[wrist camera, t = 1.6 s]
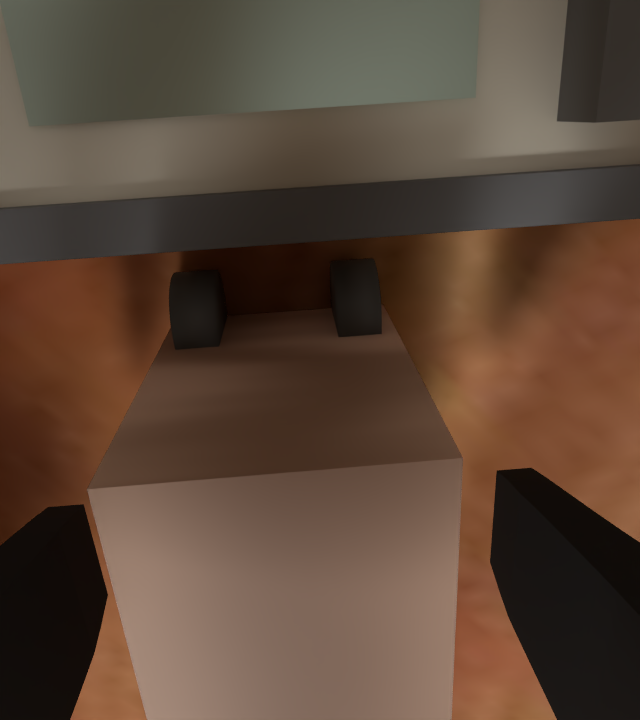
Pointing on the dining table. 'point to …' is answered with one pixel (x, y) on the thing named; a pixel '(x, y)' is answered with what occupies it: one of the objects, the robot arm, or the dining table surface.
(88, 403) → the dining table surface
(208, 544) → the wooden trolley
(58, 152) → the dock
